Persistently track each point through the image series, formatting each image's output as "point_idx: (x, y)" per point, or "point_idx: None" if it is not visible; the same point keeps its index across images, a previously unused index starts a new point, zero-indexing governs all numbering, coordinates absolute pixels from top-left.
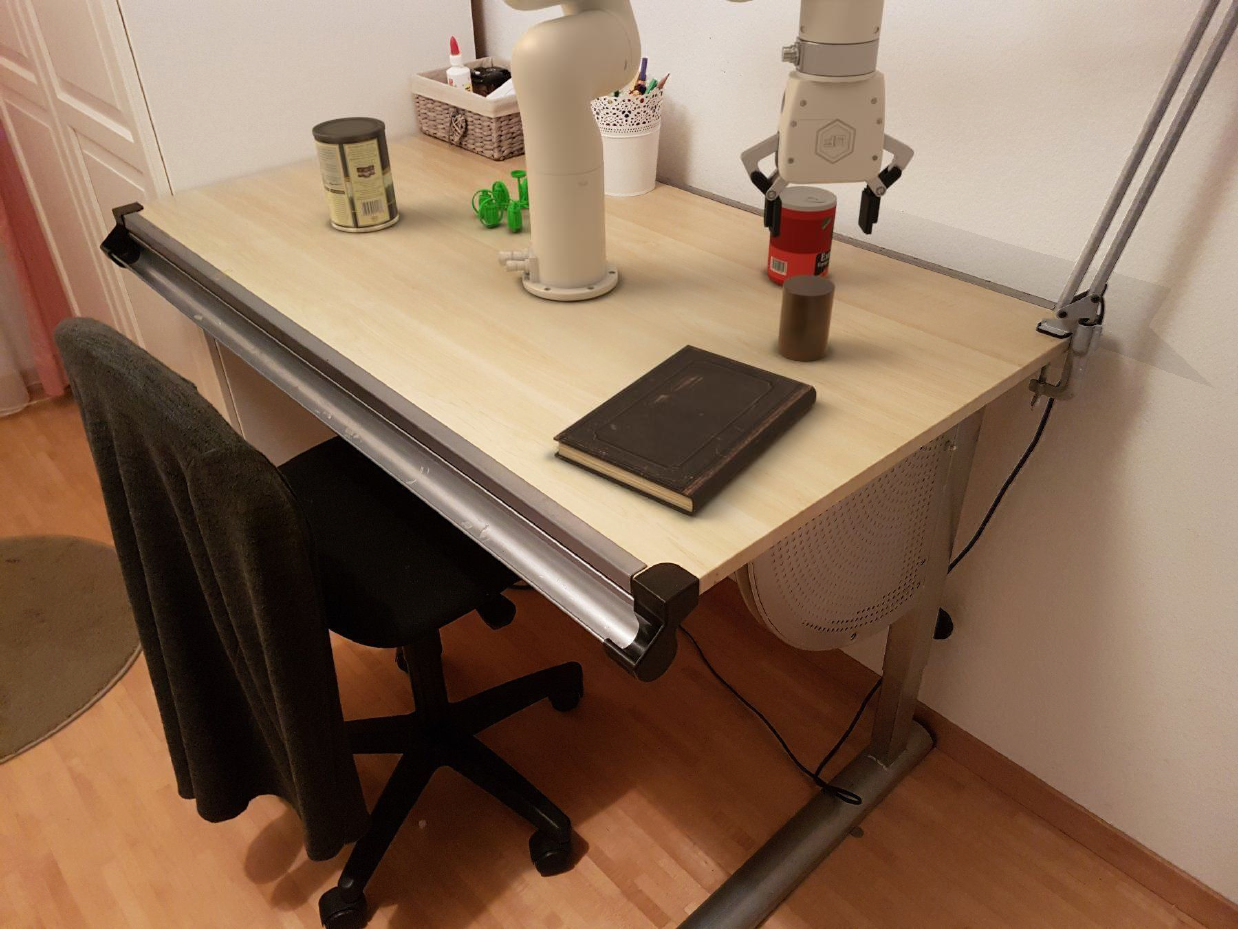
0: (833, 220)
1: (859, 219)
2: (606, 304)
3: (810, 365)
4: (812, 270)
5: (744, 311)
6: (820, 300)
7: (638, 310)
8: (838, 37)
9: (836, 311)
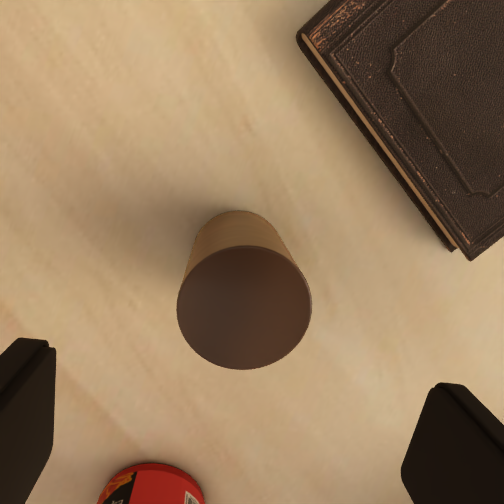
0: None
1: (40, 459)
2: None
3: (242, 196)
4: (136, 491)
5: (286, 402)
6: (237, 241)
7: None
8: None
9: (124, 378)
